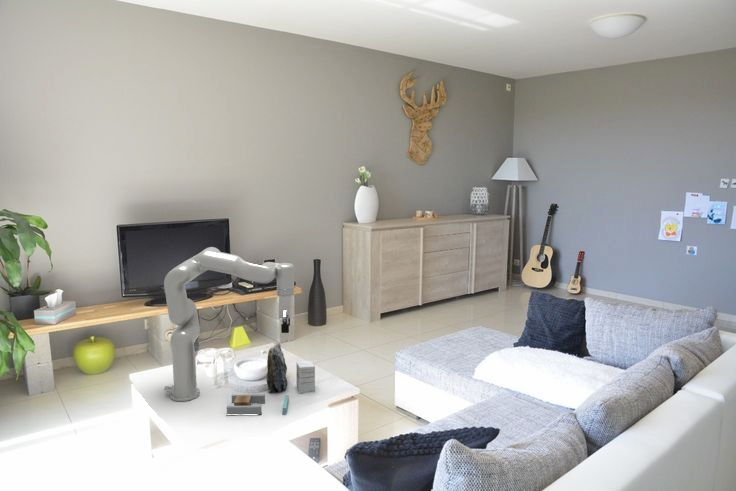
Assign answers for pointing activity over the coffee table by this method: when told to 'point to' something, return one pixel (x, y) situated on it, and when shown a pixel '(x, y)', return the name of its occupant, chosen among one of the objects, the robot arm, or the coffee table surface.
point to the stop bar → (285, 405)
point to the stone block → (276, 369)
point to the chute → (247, 409)
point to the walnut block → (242, 401)
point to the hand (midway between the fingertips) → (285, 329)
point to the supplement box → (305, 377)
